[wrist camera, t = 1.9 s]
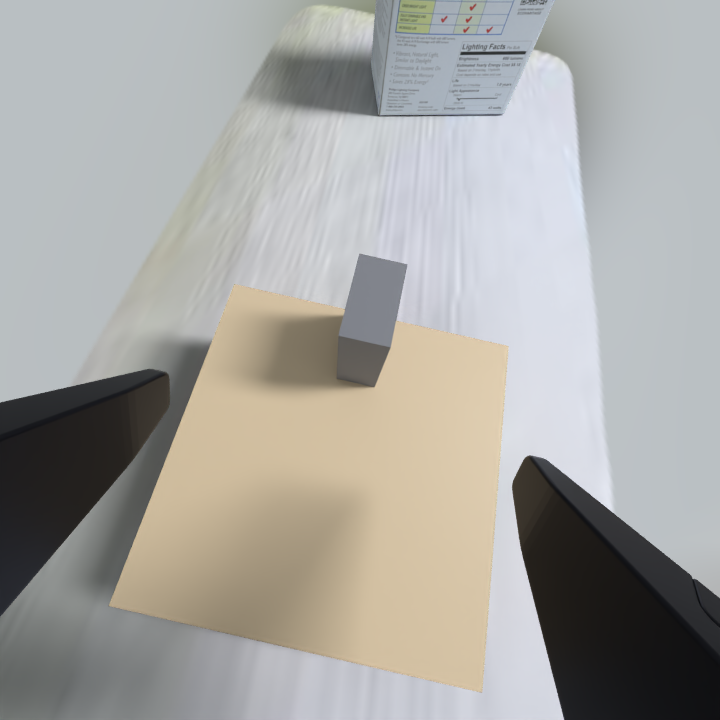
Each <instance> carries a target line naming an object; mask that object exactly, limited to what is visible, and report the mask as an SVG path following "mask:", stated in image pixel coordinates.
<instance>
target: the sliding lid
mask: <svg viewBox="0 0 720 720" xmlns="http://www.w3.org/2000/svg"><path fill="white" fill-rule="evenodd" d="M406 269H407V264H403V263H398V262H394V261H390V260H385V259H381V258H376V257H372V256H367V255H363V254H359V258H358V261H357V265H356V269H355V273H354V277H353V281H352V285H351V288H350V292H349V296H348V300H347V304H346V308H345V309H342V308H338V307H333V306H329V305H324V304H320V303H315V302H311V301H307V300H302V299H298V298H293V297H289V296H285V295H280V294H276V293H271V292H267V291H262V290H258V289H254V288H249V287H245V286H240V285H236V284H234V286H233V289H232V291H231V294H230V297H229V299H228V302H227V304H226V307H225V309H224V312H223V314H222V317H221V320H220V322H219V325H218V327H217V330H216V332H215V335H214V338H213V340H212V343H211V345H210V348H209V350H208V353H207V355H206V358H205V361H204V363H203V366H202V368H201V371H200V373H199V376H198V378H197V381H196V384H195V386H194V389H193V391H192V394H191V396H190V399H189V402H188V404H187V407H186V409H185V412H184V414H183V417H182V419H181V422H180V425H179V427H178V430H177V432H176V435H175V437H174V440H173V442H172V445H171V448H170V450H169V453H168V455H167V458H166V460H165V463H164V466H163V468H162V471H161V473H160V476H159V478H158V481H157V483H156V486H155V489H154V491H153V494H152V496H151V499H150V501H149V504H148V506H147V509H146V512H145V514H144V517H143V519H142V522H141V524H140V527H139V530H138V532H137V535H136V537H135V540H134V542H133V545H132V547H131V550H130V553H129V555H128V558H127V560H126V563H125V565H124V568H123V570H122V573H121V576H120V578H119V581H118V583H117V586H116V588H115V591H114V594H113V596H112V599H111V601H110V604H109V606H111V607H115V608H119V609H124V610H128V611H132V612H137V613H141V614H145V615H150V616H154V617H158V618H162V619H167V620H171V621H175V622H180V623H184V624H188V625H193V626H197V627H201V628H206V629H210V630H214V631H218V632H223V633H227V634H231V635H236V636H240V637H244V638H249V639H253V640H257V641H262V642H266V643H270V644H275V645H279V646H283V647H287V648H292V649H296V650H300V651H305V652H309V653H313V654H318V655H322V656H326V657H331V658H335V659H339V660H343V661H348V662H352V663H356V664H361V665H365V666H369V667H374V668H378V669H382V670H387V671H391V672H395V673H400V674H404V675H408V676H412V677H417V678H421V679H425V680H430V681H434V682H438V683H443V684H447V685H451V686H456V687H460V688H464V689H468V690H473V691H477V692H481V693H482V688H483V674H484V661H485V648H486V635H487V622H488V609H489V596H490V583H491V569H492V556H493V543H494V530H495V517H496V504H497V491H498V477H499V464H500V451H501V438H502V425H503V412H504V399H505V385H506V372H507V359H508V346H506V345H501V344H497V343H492V342H488V341H483V340H479V339H475V338H470V337H466V336H461V335H457V334H452V333H448V332H444V331H439V330H435V329H430V328H426V327H422V326H417V325H413V324H408V323H404V322H399V321H396V319H397V314H398V309H399V304H400V299H401V294H402V289H403V284H404V279H405V274H406Z"/></svg>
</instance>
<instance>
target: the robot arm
mask: <svg viewBox="0 0 720 720" xmlns="http://www.w3.org/2000/svg"><path fill="white" fill-rule="evenodd" d="M169 404H170V384H169V375H168V374H167V373H166V372H163V371H159V370H154V369H147V370H142V371H138V372H133V373H129V374H125V375H120V376H116V377H111V378H107V379H102V380H98V381H94V382H89V383H85V384H80V385H76V386H71V387H67V388H63V389H58V390H54V391H49V392H45V393H40V394H36V395H32V396H27V397H23V398H19V399H14V400H9V401H5V402H1V403H0V616H1V615H2V614H3V613H4V612H5V611H6V609H7V608H8V607H9V606H10V605H11V603H12V602H13V601H14V600H15V599H16V598H17V596H18V595H19V594H20V593H21V592H22V590H23V589H24V588H25V587H26V586H27V585H28V583H29V582H30V581H31V580H32V579H33V578H34V576H35V575H36V574H37V573H38V572H39V570H40V569H41V568H42V567H43V566H44V565H45V563H46V562H47V561H48V560H49V559H50V557H51V556H52V555H53V554H54V553H55V552H56V550H57V549H58V548H59V547H60V546H61V544H62V543H63V542H64V541H65V540H66V539H67V537H68V536H69V535H70V534H71V533H72V532H73V530H74V529H75V528H76V527H77V526H78V524H79V523H80V522H81V521H82V520H83V519H84V517H85V516H86V515H87V514H88V513H89V511H90V510H91V509H92V508H93V507H94V506H95V504H96V503H97V502H98V501H99V500H100V498H101V497H102V496H103V495H104V494H105V493H106V491H107V490H108V489H109V488H110V487H111V486H112V484H113V483H114V482H115V481H116V480H117V478H118V477H119V476H120V475H121V474H122V473H123V471H124V470H125V469H126V468H127V467H128V465H129V464H130V463H131V462H132V460H133V459H134V458H135V456H136V455H137V454H138V452H139V451H140V449H141V448H142V446H143V445H144V444H145V442H146V441H147V439H148V438H149V436H150V435H151V433H152V432H153V430H154V429H155V427H156V426H157V424H158V423H159V421H160V420H161V418H162V417H163V416H164V414H165V413H166V411H167V409H168V407H169ZM512 491H513V498H514V505H515V512H516V519H517V526H518V533H519V540H520V546H521V551H522V555H523V559H524V563H525V567H526V571H527V575H528V579H529V583H530V587H531V591H532V595H533V599H534V603H535V607H536V611H537V614H538V618H539V622H540V626H541V630H542V634H543V638H544V642H545V646H546V650H547V654H548V658H549V662H550V666H551V670H552V673H553V677H554V681H555V685H556V689H557V693H558V697H559V701H560V705H561V709H562V713H563V717H564V720H720V598H719V597H717V596H716V595H715V594H714V593H712V592H711V591H710V590H709V589H707V588H706V587H705V586H704V585H703V584H701V583H700V582H699V581H698V580H696V579H692V576H691V575H690V574H689V573H687V572H686V571H685V570H683V569H682V568H681V567H680V566H679V565H677V564H676V563H675V562H674V561H672V560H671V559H670V558H669V557H667V556H666V555H665V554H664V553H662V552H661V551H660V550H659V549H657V548H656V547H655V546H654V545H652V544H651V543H650V542H649V541H647V540H646V539H645V538H644V537H642V536H641V535H640V534H639V533H637V532H636V531H635V530H634V529H632V528H631V527H630V526H629V525H627V524H626V523H625V522H624V521H622V520H621V519H620V518H619V517H617V516H616V515H615V514H614V513H612V512H611V511H610V510H609V509H607V508H606V507H605V506H604V505H602V504H601V503H600V502H599V501H597V500H596V499H595V498H594V497H592V496H591V495H590V494H589V493H587V492H586V491H585V490H584V489H582V488H581V487H580V486H579V485H577V484H576V483H575V482H574V481H572V480H571V479H570V478H569V477H567V476H566V475H565V474H564V473H562V472H561V471H560V470H559V469H557V468H556V467H555V466H554V465H552V464H551V463H550V462H549V461H547V460H546V459H544V458H540V457H535V456H531V455H529V456H527V457H526V458H525V459H524V460H523V462H522V464H521V466H520V468H519V470H518V472H517V474H516V476H515V478H514V480H513V485H512Z"/></svg>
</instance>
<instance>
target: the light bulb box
mask: <svg viewBox="0 0 720 720" xmlns="http://www.w3.org/2000/svg"><path fill="white" fill-rule="evenodd" d="M554 1H555V0H376V9H375V20H374V33H373V47H372V59H371V69H372V76H373V82H374V88H375V95H376V102H377V108H378V115H379V116H381V115H460V114H504V113H505V111H506V108H507V106H508V104H509V102H510V100H511V97H512V95H513V93H514V91H515V88H516V86H517V84H518V82H519V79H520V77H521V75H522V73H523V71H524V68H525V66H526V64H527V62H528V59H529V57H530V55H531V53H532V50H533V48H534V46H535V44H536V41H537V39H538V37H539V35H540V33H541V30H542V28H543V26H544V24H545V21H546V19H547V17H548V15H549V13H550V10H551V8H552V6H553V3H554Z"/></svg>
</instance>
